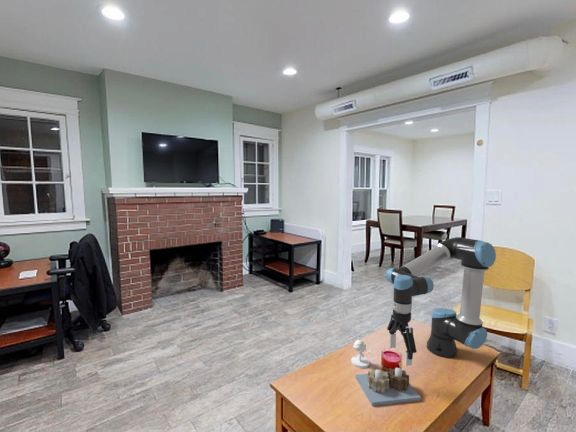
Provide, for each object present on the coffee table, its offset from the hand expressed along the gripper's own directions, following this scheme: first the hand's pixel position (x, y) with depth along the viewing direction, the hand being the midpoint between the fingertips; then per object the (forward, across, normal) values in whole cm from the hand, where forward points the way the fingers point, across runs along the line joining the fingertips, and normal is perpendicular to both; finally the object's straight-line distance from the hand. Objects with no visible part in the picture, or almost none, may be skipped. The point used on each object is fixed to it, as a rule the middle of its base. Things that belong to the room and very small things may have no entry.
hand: (400, 355), depth 132 cm
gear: (+13, 0, -10) cm, 17 cm away
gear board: (+15, 0, -6) cm, 16 cm away
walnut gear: (+14, 0, -1) cm, 14 cm away
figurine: (+15, -20, -10) cm, 27 cm away
